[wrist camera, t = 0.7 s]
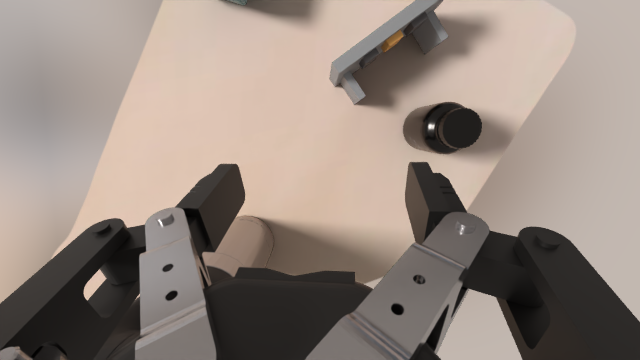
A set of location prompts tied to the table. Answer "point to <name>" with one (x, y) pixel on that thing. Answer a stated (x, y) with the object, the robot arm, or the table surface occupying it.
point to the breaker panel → (389, 43)
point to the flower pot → (239, 1)
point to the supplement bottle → (442, 128)
